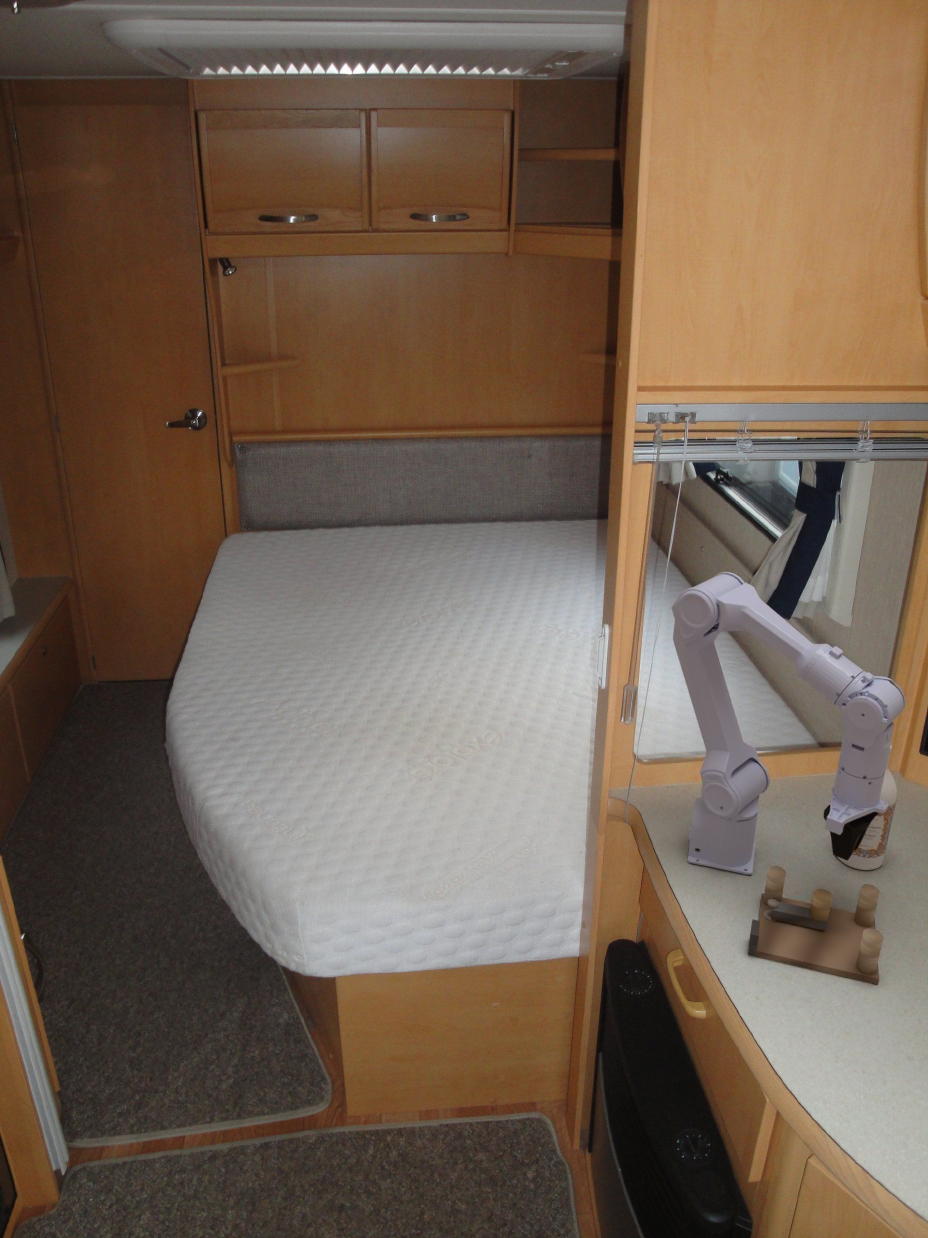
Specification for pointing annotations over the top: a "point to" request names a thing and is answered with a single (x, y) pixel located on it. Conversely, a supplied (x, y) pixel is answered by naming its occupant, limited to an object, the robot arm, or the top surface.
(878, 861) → the bath foam
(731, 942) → the top surface
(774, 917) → the grey bar with knob
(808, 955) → the stool board
